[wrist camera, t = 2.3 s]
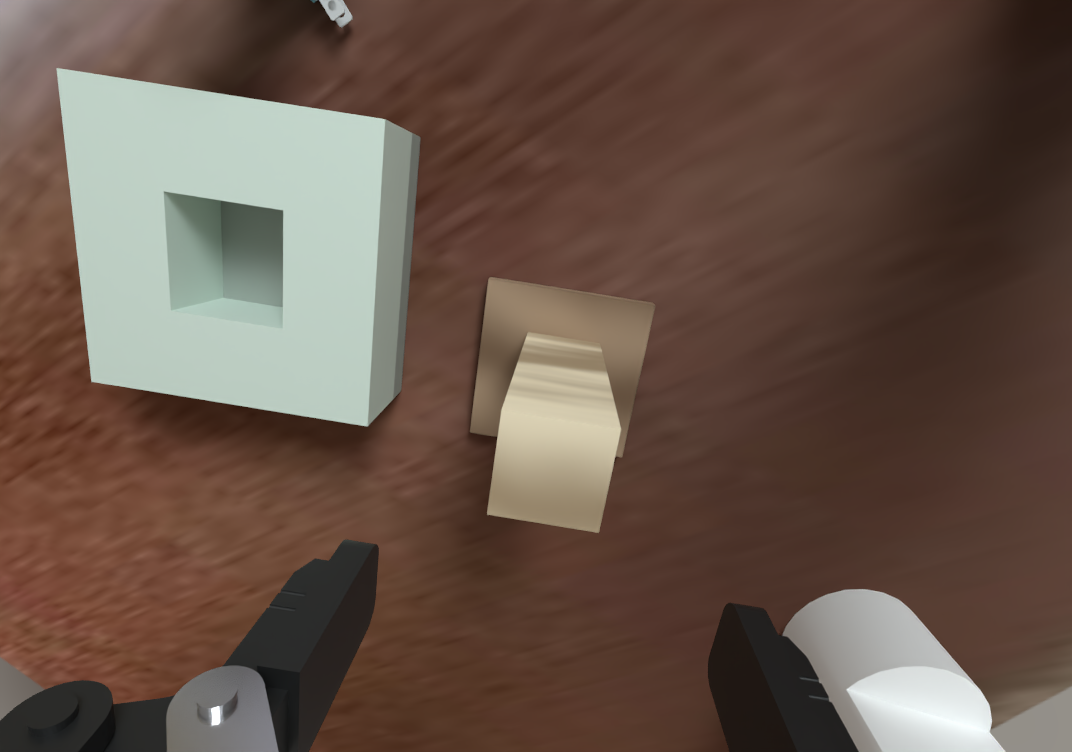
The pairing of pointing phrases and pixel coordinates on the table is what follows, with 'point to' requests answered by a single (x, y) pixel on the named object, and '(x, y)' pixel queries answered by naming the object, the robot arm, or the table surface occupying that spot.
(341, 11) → the push button
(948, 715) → the cylinder with rectangular tab
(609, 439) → the pin
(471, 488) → the table surface
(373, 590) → the robot arm
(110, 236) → the socket block
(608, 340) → the coaster
